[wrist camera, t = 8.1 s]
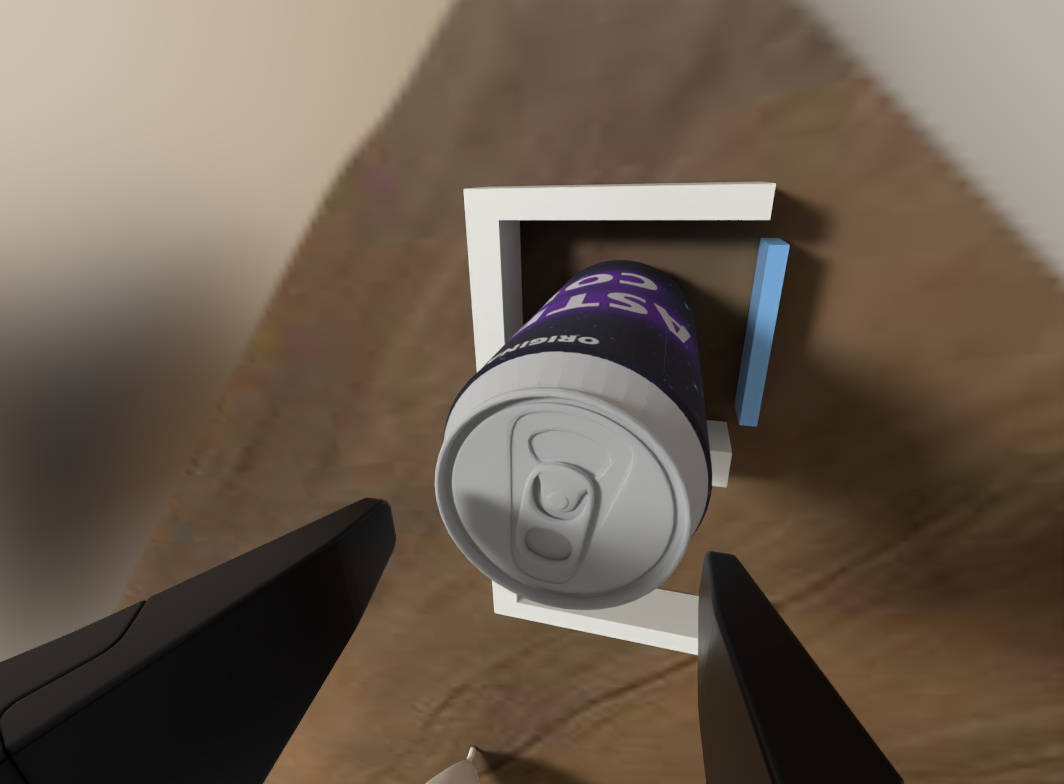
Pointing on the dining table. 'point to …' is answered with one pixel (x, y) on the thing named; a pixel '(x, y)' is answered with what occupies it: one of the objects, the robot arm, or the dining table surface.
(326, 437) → the dining table surface
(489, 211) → the white open frame
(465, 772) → the spinning top
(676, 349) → the beverage can
